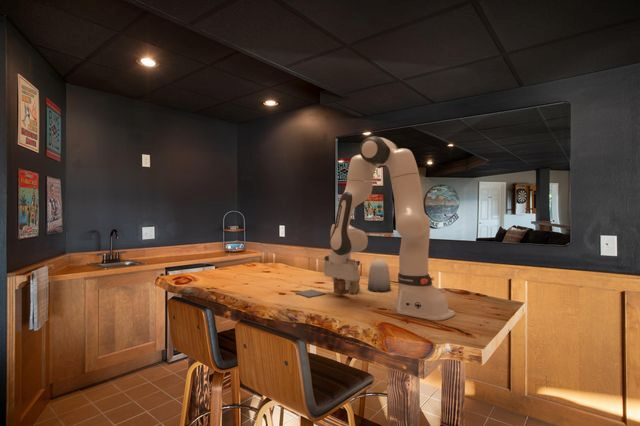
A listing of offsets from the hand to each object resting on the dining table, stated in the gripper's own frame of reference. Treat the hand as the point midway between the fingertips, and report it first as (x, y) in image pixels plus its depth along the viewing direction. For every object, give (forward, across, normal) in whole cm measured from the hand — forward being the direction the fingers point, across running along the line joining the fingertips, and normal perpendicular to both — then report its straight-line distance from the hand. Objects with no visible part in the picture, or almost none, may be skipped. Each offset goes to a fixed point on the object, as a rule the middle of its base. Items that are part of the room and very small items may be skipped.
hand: (341, 288), depth 164 cm
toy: (+4, -2, -23) cm, 24 cm away
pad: (+3, +12, +8) cm, 15 cm away
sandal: (+4, +7, -13) cm, 15 cm away
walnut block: (+2, 0, 0) cm, 2 cm away
